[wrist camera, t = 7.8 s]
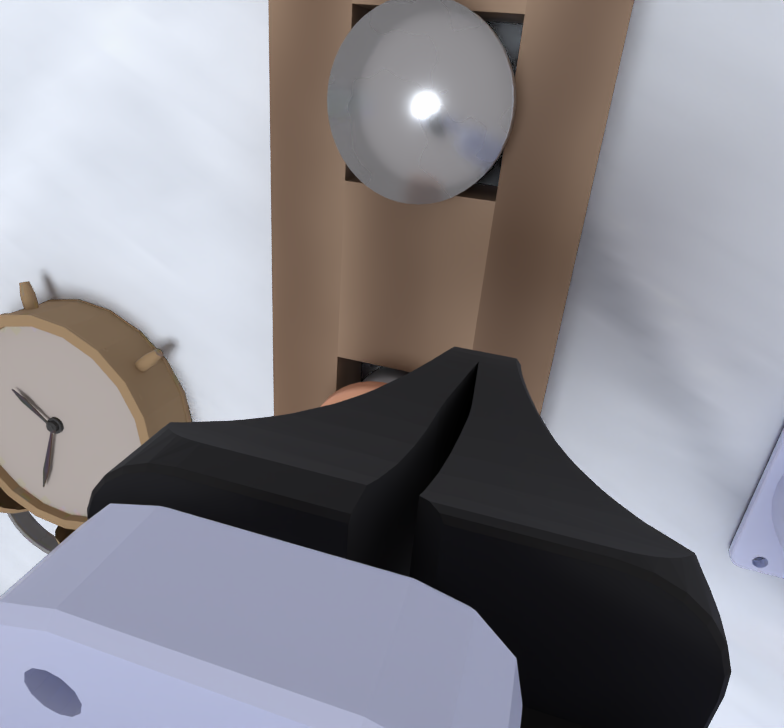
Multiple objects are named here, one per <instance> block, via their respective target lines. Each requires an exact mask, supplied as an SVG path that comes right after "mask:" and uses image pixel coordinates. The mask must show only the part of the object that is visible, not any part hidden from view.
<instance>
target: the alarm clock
mask: <svg viewBox="0 0 784 728" xmlns="http://www.w3.org/2000/svg"><path fill="white" fill-rule="evenodd" d="M19 285H20V296H21V300H22V303H23V307H24V309H22V310H19V311H16V312H12V313H4V314H1V315H0V512H3V513H7V514H8V516H9V518H10V519H11V521H12V522H13V524H14V525H15V527H16V528H17V529H18V530H19V531H20V533H21V534H22V535H23V536H24V537H25V538H26V539H28V540H29V541H30V542H31V543H32V544H33V545H35V546H36V547H38V548H39V549H41V550H42V551H43V552H45V553H47V554H49V553H50V552H51V551H52V550H53V549H55V548H56V547H57V546H58V545H59V544H60V543H61V542H63V541H64V540H65V539H66V538H67V537H68V536H69V535H71V534H72V533H73V532H74V531H75V530H76V529H77V528H78V527H80V526H81V525H82V524H83V523H85V522H86V521H87V520H88V519H87V507H88V504H89V500H90V497H91V493H92V490H93V489H94V488H95V486H96V485H97V484H98V483H99V482H100V480H101V479H102V478H103V477H104V475H106V474H107V473H108V472H109V471H110V470H112V469H113V468H114V467H115V466H117V465H118V464H119V463H120V462H121V461H123V460H124V459H125V458H126V457H128V456H129V455H130V454H131V453H132V452H134V451H135V450H136V449H137V448H139V447H140V446H141V445H142V444H143V443H145V442H146V441H147V440H148V439H150V438H151V437H152V436H153V435H154V434H156V433H157V432H158V431H159V430H161V429H162V428H163V427H164V426H166V425H167V424H168V423H170V422H192V421H191V416H190V412H189V407H188V402H187V399H186V395H185V392H184V390H183V388H182V386H181V385H180V383H179V381H178V379H177V377H176V376H175V374H174V372H173V370H172V368H171V367H170V365H169V363H168V361H167V360H166V359H165V358H164V356H163V353H162V351H161V350H160V349H156V348H155V346H154V345H153V344H152V343H151V342H150V341H149V340H148V339H147V338H146V337H145V335H144V334H143V333H142V332H141V331H140V330H138V329H137V328H135V327H134V326H132V325H131V324H129V323H128V322H127V321H125V320H124V319H122V318H121V317H119V316H118V315H116V314H115V313H113V312H112V311H111V310H108V309H105V308H102V307H99V306H97V305H94V304H91V303H88V302H85V301H82V300H79V299H51V300H48V301H46V302H43V303H41V304H39V305H38V301H37V298H36V294H35V292H34V290H33V288H32V286H31V284H30V282H22V283H19ZM29 511H30V512H31V513H33V514H34V515H35V516H37V517H40V518H42V519H44V520H47V521H49V522H51V523H54V524H56V525H58V527H57V529H56V530H55V536H54V535H52V534H51V533H49V532H48V531H47V530H46V529H44V528H43V527H42V526H41V525H40V524H39V523H38V522H37V521H36V520H35V519H34V518H33V517H32V515H31V514H30V513H29Z"/></svg>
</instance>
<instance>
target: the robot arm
mask: <svg viewBox="0 0 784 728" xmlns="http://www.w3.org/2000/svg"><path fill="white" fill-rule="evenodd" d="M87 519H88V520H87V521H86V522H85V523H83V524H82V525H81V526H80V527H78V528H77V529H76V530H75V531H74V532H73V533H72V534H71V535H69V536H68V537H67V538H66V539H65V540H64V541H63V542H61V543H60V544H59V545H58V546H57V547H56V548H55V549H53V550H52V551H51V552H50V553H49V554H48V555H47V556H46V557H44V558H43V559H42V560H41V561H40V562H39V563H38V564H36V565H35V566H34V567H33V568H32V569H31V570H30V571H29V572H27V573H26V574H25V575H24V576H23V577H22V578H21V579H19V580H18V581H17V582H16V583H15V584H14V585H13V586H11V587H10V588H9V589H8V590H7V591H6V592H5V593H4V594H2V595H1V596H0V728H708V726H709V724H710V722H711V720H712V718H713V717H714V715H715V713H716V711H717V709H718V707H719V705H720V703H721V702H722V700H723V698H724V696H725V692H726V689H727V685H728V682H729V678H730V675H731V666H730V659H729V652H728V645H727V641H726V637H725V633H724V629H723V625H722V621H721V618H720V614H719V611H718V609H717V606H716V603H715V601H714V598H713V595H712V593H711V590H710V588H709V585H708V583H707V581H706V578H705V576H704V574H703V572H702V569H701V567H700V564H699V562H698V559H697V556H696V555H695V553H694V552H692V551H690V550H689V549H687V548H685V547H684V546H682V545H681V544H679V543H677V542H676V541H674V540H672V539H671V538H669V537H668V536H666V535H664V534H663V533H661V532H659V531H658V530H656V529H655V528H653V527H651V526H650V525H648V524H646V523H645V522H643V521H642V520H640V519H639V518H638V517H636V516H635V515H633V514H632V513H631V512H629V511H628V510H627V509H626V508H624V507H623V506H622V505H620V504H619V503H618V502H616V501H615V500H614V499H612V498H611V497H610V496H609V495H608V494H606V493H605V492H604V491H603V490H602V489H600V488H599V487H598V486H597V485H596V484H595V483H594V482H593V481H592V480H591V479H590V478H589V477H588V476H587V475H585V474H584V473H583V472H582V471H581V470H580V469H579V468H578V467H577V466H576V465H575V464H574V462H573V461H572V460H571V459H570V458H569V457H568V456H567V455H566V453H565V452H564V451H563V450H562V448H561V447H560V446H559V445H558V443H557V442H556V441H555V439H554V438H553V436H552V435H551V433H550V432H549V430H548V429H547V427H546V425H545V424H544V422H543V420H542V419H541V417H540V415H539V413H538V411H537V409H536V407H535V405H534V403H533V401H532V399H531V396H530V394H529V392H528V389H527V387H526V384H525V381H524V378H523V375H522V371H521V364H520V363H519V361H518V360H517V358H512V357H507V356H502V355H497V354H491V353H486V352H481V351H476V350H471V349H465V348H460V347H453V348H451V349H449V350H447V351H446V352H444V353H442V354H441V355H439V356H438V357H436V358H434V359H433V360H431V361H429V362H427V363H426V364H424V365H422V366H420V367H419V368H417V369H415V370H413V371H412V372H410V373H408V374H406V375H404V376H402V377H400V378H398V379H396V380H394V381H391V382H389V383H387V384H385V385H383V386H381V387H379V388H377V389H374V390H372V391H370V392H367V393H364V394H362V395H359V396H356V397H353V398H350V399H347V400H344V401H341V402H338V403H334V404H331V405H326V406H322V407H318V408H313V409H309V410H304V411H300V412H296V413H291V414H285V415H278V416H272V417H264V418H255V419H246V420H234V421H210V422H170V423H168V424H167V425H166V426H164V427H163V428H162V429H161V430H159V431H158V432H157V433H156V434H154V435H153V436H152V437H151V438H150V439H148V440H147V441H146V442H145V443H143V444H142V445H141V446H140V447H139V448H137V449H136V450H135V451H134V452H132V453H131V454H130V455H129V456H128V457H126V458H125V459H124V460H123V461H121V462H120V463H119V464H118V465H117V466H115V467H114V468H113V469H112V470H110V471H109V472H108V473H107V474H106V475H104V477H103V478H102V479H101V480H100V482H99V483H98V484H97V485H96V486H95V488H94V489H93V490H92V493H91V497H90V500H89V504H88V507H87ZM729 555H730V558H731V561H732V562H733V563H734V564H735V565H736V566H739V567H741V568H745V569H749V570H753V571H757V572H760V573H764V574H768V575H772V576H776V577H780V578H783V579H784V428H783V430H782V433H781V435H780V437H779V439H778V442H777V444H776V446H775V448H774V450H773V453H772V455H771V457H770V459H769V462H768V464H767V466H766V468H765V470H764V473H763V475H762V477H761V479H760V482H759V484H758V486H757V488H756V490H755V493H754V495H753V497H752V499H751V501H750V504H749V506H748V508H747V510H746V513H745V515H744V517H743V519H742V521H741V524H740V526H739V528H738V530H737V533H736V535H735V537H734V539H733V541H732V544H731V546H730V548H729ZM756 557H764V559H762V560H754V558H756Z"/></svg>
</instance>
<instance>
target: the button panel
mask: <svg viewBox="0 0 784 728" xmlns="http://www.w3.org/2000/svg"><path fill="white" fill-rule="evenodd" d="M386 1H389V0H269V73H270V149H271V225H272V301H273V377H274V416H278V415H285V414H291V413H296V412H300V411H304V410H309V409H313V408H318V407H320V406H321V405H322V404H323V403H324V402H325V401H326V400H327V399H328V397H329V396H331V395H332V394H333V393H334V392H336V391H337V390H339V389H341V388H342V387H345V386H347V385H350V384H354V383H358V382H361V369H362V362H365V363H370V364H374V365H379V366H383V367H388V368H393V369H397V370H402V371H407V372H412V371H413V370H415V369H417V368H419V367H420V366H422V365H424V364H426V363H427V362H429V361H431V360H433V359H434V358H436V357H438V356H439V355H441V354H442V353H444V352H446V351H447V350H449V349H451V348H453V347H460V348H465V349H471V350H476V351H481V352H486V353H491V354H497V355H502V356H507V357H512V358H517V360H518V361H519V363H520V364H521V371H522V375H523V378H524V381H525V384H526V387H527V389H528V392H529V394H530V396H531V399H532V401H533V403H534V405H535V407H536V409H537V411H538V413H539V415H540V414H541V409H542V405H543V401H544V396H545V392H546V387H547V383H548V378H549V374H550V370H551V365H552V361H553V356H554V352H555V347H556V343H557V339H558V334H559V330H560V325H561V321H562V317H563V312H564V308H565V303H566V299H567V294H568V290H569V286H570V281H571V277H572V272H573V268H574V264H575V259H576V255H577V250H578V246H579V241H580V237H581V233H582V228H583V224H584V219H585V215H586V211H587V206H588V202H589V197H590V193H591V188H592V184H593V180H594V175H595V171H596V166H597V162H598V158H599V153H600V149H601V144H602V140H603V135H604V131H605V127H606V122H607V118H608V113H609V109H610V105H611V100H612V96H613V91H614V87H615V82H616V78H617V74H618V69H619V65H620V60H621V56H622V51H623V47H624V43H625V38H626V34H627V29H628V25H629V21H630V16H631V12H632V7H633V3H634V0H453V1H455V2H457V3H460V4H462V5H464V6H465V7H467V8H468V9H470V10H471V11H473V12H474V13H476V14H477V15H479V16H480V17H481V18H482V19H483V20H484V21H491V22H506V23H522V24H523V29H522V35H521V42H520V48H519V54H518V61H517V67H516V74H515V84H516V110H515V117H514V122H513V126H512V130H511V133H510V136H509V138H508V141H507V143H506V145H505V147H504V150H503V157H502V163H501V170H500V176H499V183H498V186H490V185H483V184H473V185H472V186H470V187H469V188H468V189H466V190H465V191H463V192H462V193H460V194H458V195H456V196H454V197H452V198H449V199H446V200H443V201H440V202H436V203H431V204H406V203H402V202H397V201H394V200H391V199H388V198H386V197H384V196H382V195H380V194H378V193H376V192H374V191H373V190H371V189H370V188H369V187H367V186H366V185H365V184H364V183H362V182H361V181H360V180H359V179H358V178H357V177H356V176H355V175H354V174H353V172H352V171H351V170H350V169H349V167H348V166H347V164H346V163H345V161H344V160H343V158H342V157H341V155H340V153H339V151H338V149H337V147H336V144H335V141H334V139H333V136H332V132H331V128H330V124H329V118H328V111H327V93H328V83H329V78H330V72H331V69H332V66H333V62H334V59H335V57H336V55H337V52H338V50H339V48H340V46H341V44H342V43H343V41H344V39H345V38H346V36H347V34H348V33H349V32H350V31H351V29H352V28H353V27H354V26H355V24H356V23H357V22H358V21H359V20H360V19H361V18H362V17H364V16H365V15H366V14H367V13H368V12H370V11H371V10H373V9H374V8H375V7H377V6H379V5H381V4H383V3H385V2H386Z"/></svg>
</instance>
